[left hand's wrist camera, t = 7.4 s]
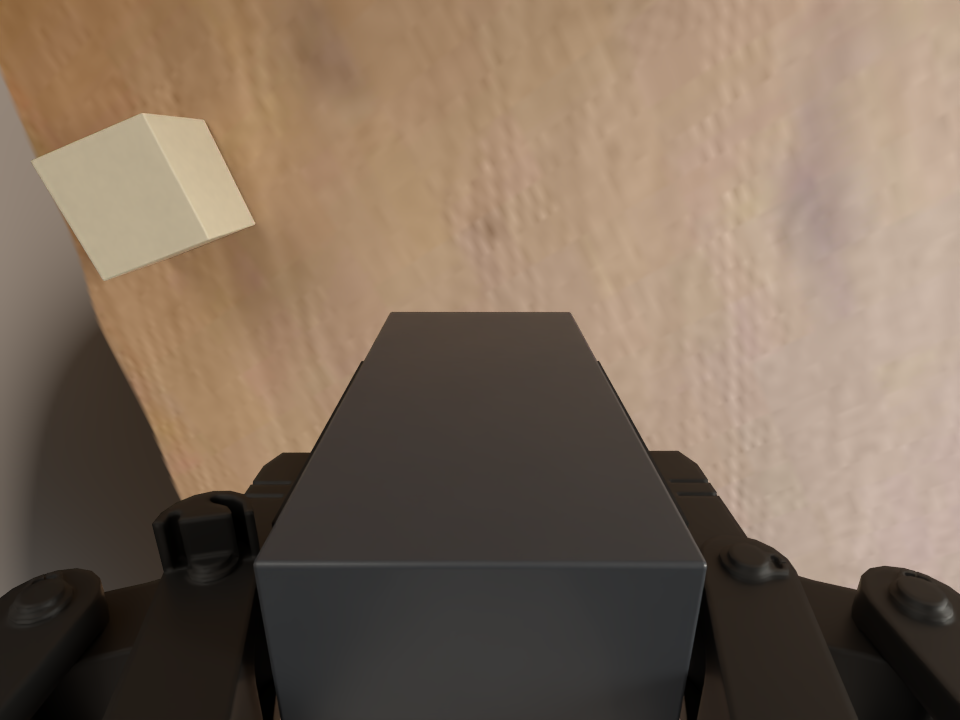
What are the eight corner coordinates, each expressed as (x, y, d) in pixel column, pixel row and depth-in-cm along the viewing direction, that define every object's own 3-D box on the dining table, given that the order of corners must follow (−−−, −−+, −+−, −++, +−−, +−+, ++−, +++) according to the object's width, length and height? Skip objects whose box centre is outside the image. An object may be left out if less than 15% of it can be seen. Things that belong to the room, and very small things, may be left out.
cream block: (109, 158, 26) (29, 160, 21) (204, 119, 25) (142, 111, 21) (166, 259, 28) (102, 281, 23) (256, 224, 27) (209, 239, 22)
